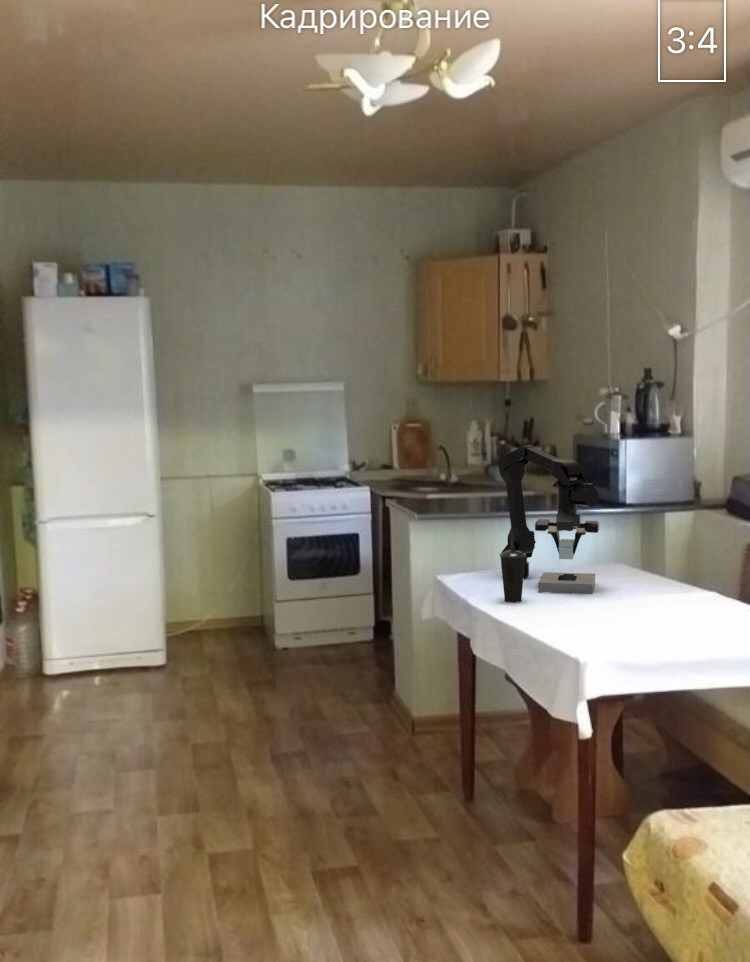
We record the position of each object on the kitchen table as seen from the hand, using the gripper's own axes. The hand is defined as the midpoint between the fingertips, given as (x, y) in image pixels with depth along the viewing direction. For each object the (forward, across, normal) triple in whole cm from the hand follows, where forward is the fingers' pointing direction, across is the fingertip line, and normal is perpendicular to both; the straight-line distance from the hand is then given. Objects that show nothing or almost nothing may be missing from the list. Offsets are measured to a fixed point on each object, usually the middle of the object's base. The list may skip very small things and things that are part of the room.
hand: (566, 553), depth 317 cm
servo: (+1, 0, 0) cm, 1 cm away
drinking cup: (+11, -14, -20) cm, 26 cm away
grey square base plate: (+11, 0, +1) cm, 11 cm away
